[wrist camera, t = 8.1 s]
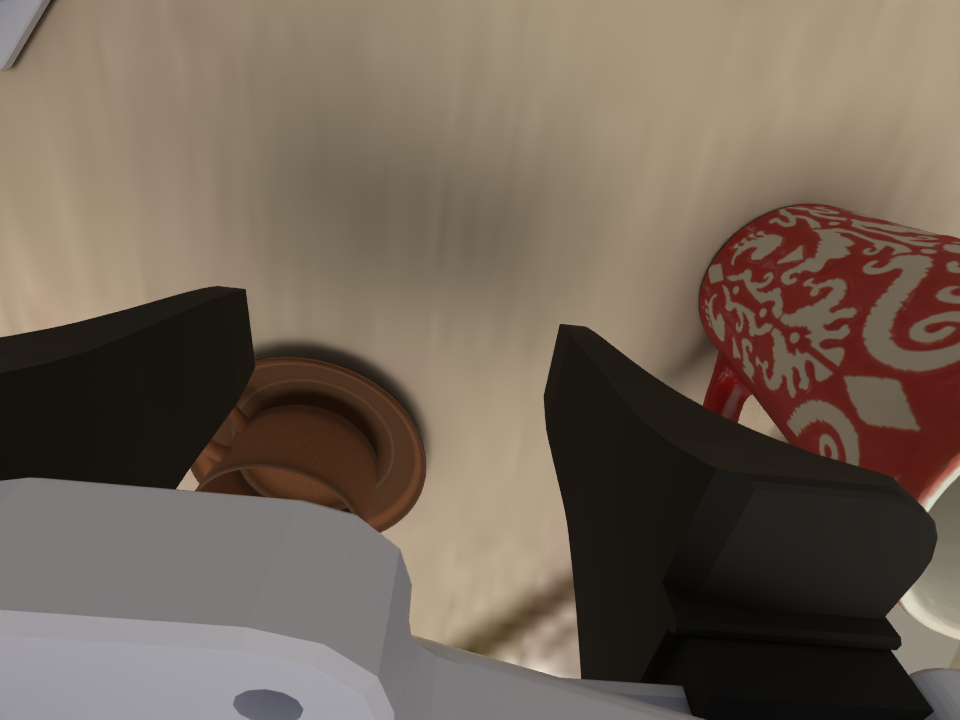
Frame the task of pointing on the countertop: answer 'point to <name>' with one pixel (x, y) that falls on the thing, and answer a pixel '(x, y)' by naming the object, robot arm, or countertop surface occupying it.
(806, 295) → the mug
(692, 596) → the robot arm
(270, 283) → the countertop surface
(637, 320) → the countertop surface
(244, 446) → the cup and saucer
